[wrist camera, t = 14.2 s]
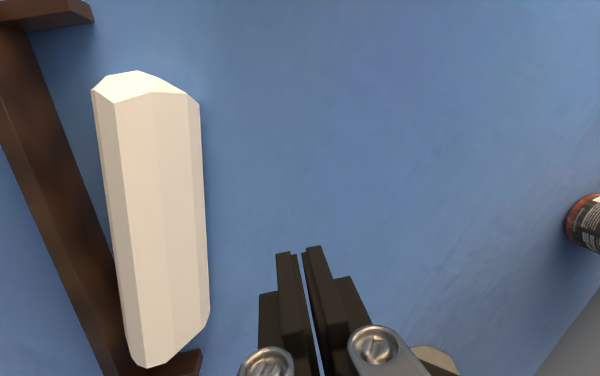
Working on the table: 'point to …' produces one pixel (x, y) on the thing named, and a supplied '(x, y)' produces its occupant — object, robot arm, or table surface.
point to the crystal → (154, 210)
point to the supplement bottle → (585, 223)
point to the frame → (64, 188)
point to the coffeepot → (435, 357)
